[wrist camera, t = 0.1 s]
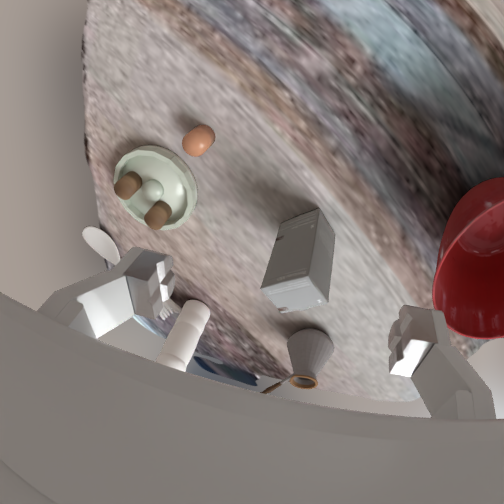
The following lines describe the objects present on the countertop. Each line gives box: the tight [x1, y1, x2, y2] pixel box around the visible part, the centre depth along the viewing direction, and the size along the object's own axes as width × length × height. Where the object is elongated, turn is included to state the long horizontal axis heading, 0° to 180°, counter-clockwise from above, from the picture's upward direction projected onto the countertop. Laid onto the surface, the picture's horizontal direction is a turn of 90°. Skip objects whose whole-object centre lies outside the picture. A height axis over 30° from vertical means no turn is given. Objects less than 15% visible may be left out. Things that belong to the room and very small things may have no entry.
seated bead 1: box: [114, 171, 142, 200], centre depth 56 cm, size 4×4×4 cm
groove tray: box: [113, 145, 198, 230], centre depth 57 cm, size 17×17×2 cm
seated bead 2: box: [144, 201, 172, 230], centre depth 59 cm, size 4×4×4 cm
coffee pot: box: [260, 329, 334, 394], centre depth 73 cm, size 21×12×15 cm, turn 134°
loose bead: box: [182, 125, 215, 157], centre depth 48 cm, size 4×4×4 cm
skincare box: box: [260, 208, 335, 313], centre depth 50 cm, size 8×7×16 cm
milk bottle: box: [156, 300, 210, 372], centre depth 71 cm, size 7×7×25 cm
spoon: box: [82, 226, 182, 320], centre depth 75 cm, size 9×32×4 cm, turn 40°
